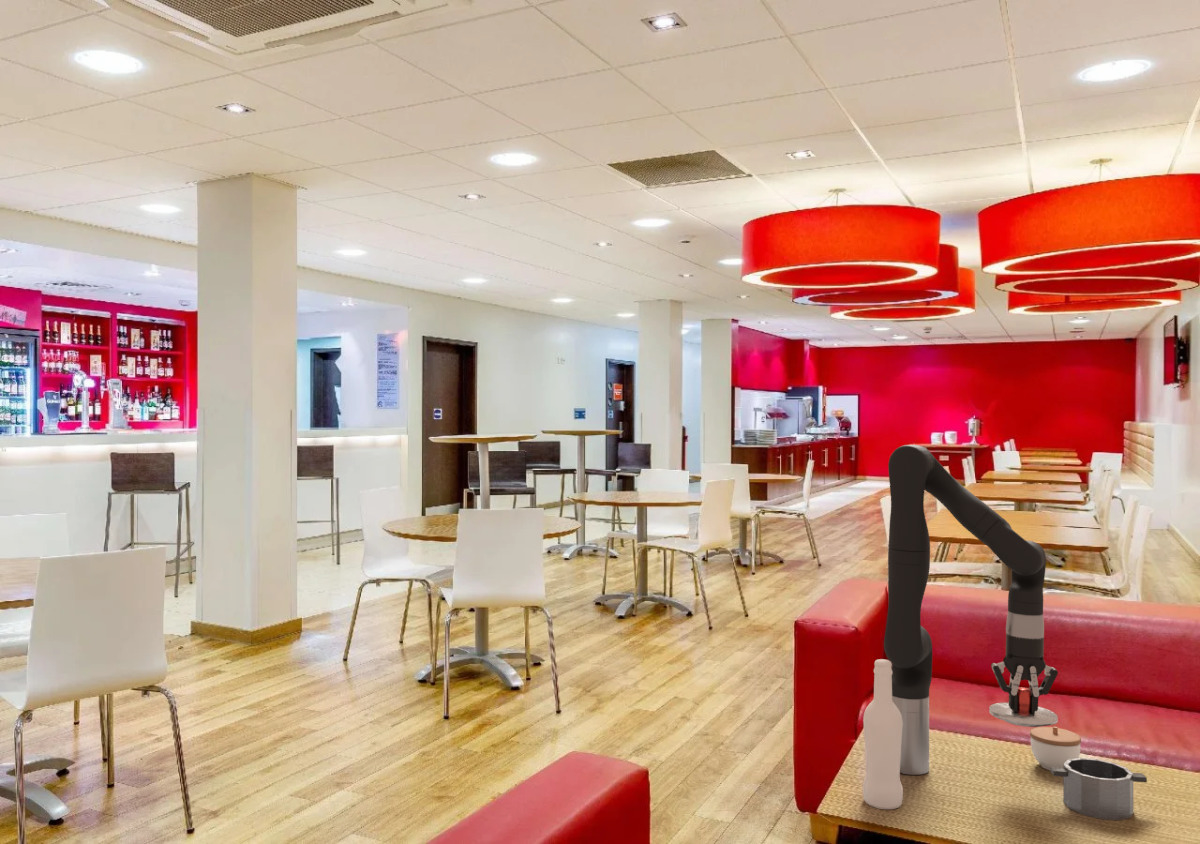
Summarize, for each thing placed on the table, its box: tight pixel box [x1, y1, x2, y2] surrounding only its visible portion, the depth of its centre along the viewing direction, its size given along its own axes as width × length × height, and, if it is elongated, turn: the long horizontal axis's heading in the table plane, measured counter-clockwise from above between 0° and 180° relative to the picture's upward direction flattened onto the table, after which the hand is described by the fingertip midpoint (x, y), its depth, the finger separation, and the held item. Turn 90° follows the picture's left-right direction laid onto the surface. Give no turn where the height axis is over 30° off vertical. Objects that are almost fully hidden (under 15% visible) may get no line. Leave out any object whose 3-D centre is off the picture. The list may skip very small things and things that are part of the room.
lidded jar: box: [1029, 726, 1082, 771], centre depth 214 cm, size 11×11×9 cm
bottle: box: [862, 658, 904, 810], centre depth 193 cm, size 8×8×30 cm
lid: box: [989, 686, 1059, 728], centre depth 200 cm, size 14×14×7 cm
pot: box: [1049, 757, 1148, 821], centre depth 192 cm, size 18×12×8 cm
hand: (1023, 711), depth 200 cm, fingers closed on lid, 3 cm apart
